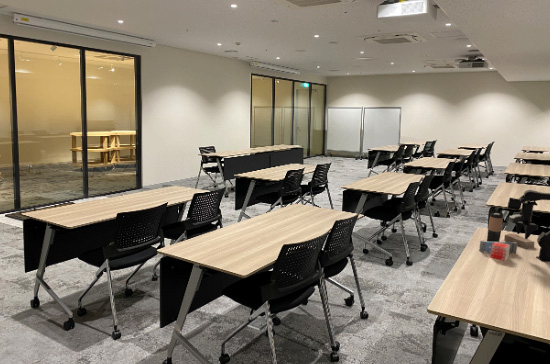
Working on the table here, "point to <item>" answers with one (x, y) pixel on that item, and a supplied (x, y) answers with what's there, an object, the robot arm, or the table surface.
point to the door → (489, 244)
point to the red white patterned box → (500, 251)
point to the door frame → (482, 243)
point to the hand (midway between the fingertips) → (521, 236)
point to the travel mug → (495, 227)
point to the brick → (519, 240)
